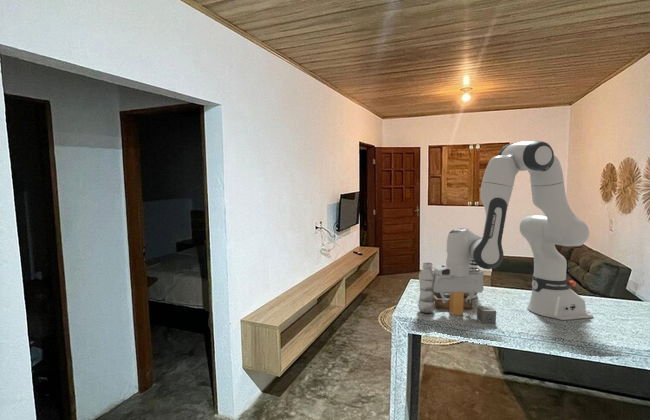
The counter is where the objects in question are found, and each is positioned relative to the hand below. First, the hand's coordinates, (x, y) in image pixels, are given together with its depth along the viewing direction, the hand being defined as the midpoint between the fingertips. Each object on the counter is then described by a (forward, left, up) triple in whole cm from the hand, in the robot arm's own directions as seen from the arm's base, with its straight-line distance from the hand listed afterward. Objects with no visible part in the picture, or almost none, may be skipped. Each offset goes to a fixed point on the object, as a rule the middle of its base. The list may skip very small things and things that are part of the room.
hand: (456, 302), depth 142 cm
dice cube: (-8, +9, -4) cm, 13 cm away
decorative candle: (-14, -22, -4) cm, 26 cm away
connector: (0, 0, -4) cm, 4 cm away
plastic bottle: (+12, -1, -4) cm, 13 cm away
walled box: (-1, -11, -4) cm, 12 cm away
